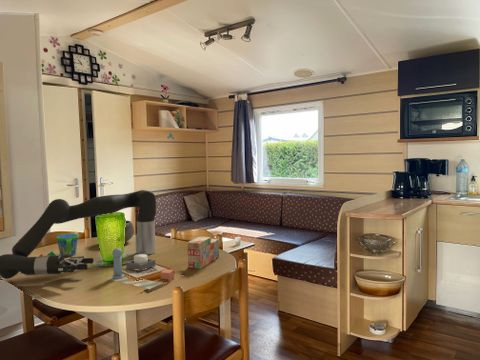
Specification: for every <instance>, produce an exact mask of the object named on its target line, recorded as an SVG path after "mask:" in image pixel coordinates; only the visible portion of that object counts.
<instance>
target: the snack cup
mask: <svg viewBox="0 0 480 360" xmlns="http://www.w3.org/2000/svg"><path fill="white" fill-rule="evenodd" d="M79 237H80V235H79V234H77V233H64V234H60V235H57V236H56V238H55V240H56V241H57V245H58V251H59V255H61V256H63V257H64V258H65V257H74V256H75V255H76V254H77V250H78V249H77V248H78V241H79Z"/></svg>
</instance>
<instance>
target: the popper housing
mask: <svg viewBox="0 0 480 360" xmlns="http://www.w3.org/2000/svg"><path fill="white" fill-rule="evenodd" d="M125 266H126V267H125V269H127V270H131V269H139V270H142V269H145V268H149V267H152V266H155V267H156V259H152V258H148V262H146V263H143V264H137V263H134V259H132V260H129V261H126V263H125ZM152 268H153V267H152ZM149 269H150V268H149Z"/></svg>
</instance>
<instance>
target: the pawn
mask: <svg viewBox="0 0 480 360" xmlns="http://www.w3.org/2000/svg"><path fill="white" fill-rule="evenodd" d="M111 253H112V256H113V257H112V258H113V274H112V276H111V277H113V279H121V278H123V277H124V275H125V273H123V267H122V266H123V264H122V262H123V261H122V257H123V250H122V248H120V247H116V248H114V249H113V250H112V252H111ZM123 279H124V278H123ZM121 280H122V279H121Z"/></svg>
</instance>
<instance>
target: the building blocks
mask: <svg viewBox="0 0 480 360" xmlns="http://www.w3.org/2000/svg"><path fill="white" fill-rule="evenodd" d="M54 255H57V254H56V253H55V252H54V251H53V250H51V251H50V252H49V253H48V254H46V255H45V254H43V253H41V254H40V255H38V256H37V257H40V256H54Z"/></svg>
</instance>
